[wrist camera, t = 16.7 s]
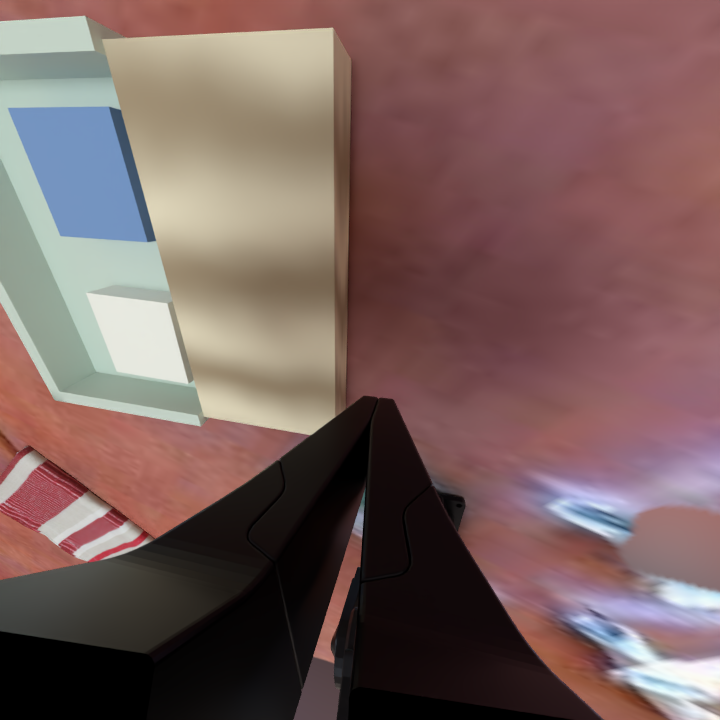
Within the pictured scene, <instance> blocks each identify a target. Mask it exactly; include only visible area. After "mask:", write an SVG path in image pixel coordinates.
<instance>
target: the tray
mask: <svg viewBox="0 0 720 720" xmlns="http://www.w3.org/2000/svg"><path fill="white" fill-rule="evenodd" d="M118 38H126V37H124V36H122V35H120V34H118V33H116V32H114V31H113V30H111V29H109V28H107V27H105V26H103V25H101V24H99V23H97V22H96V21H94V20H92V19H90V18H88V17H86V16H77V17H61V18H46V19H31V20H15V21H0V302H1V304H2V306H3V308H4V309H5V311H6V313H7V315H8V317H9V319H10V320H11V322H12V324H13V326H14V328H15V329H16V331H17V333H18V335H19V337H20V338H21V340H22V342H23V344H24V346H25V347H26V349H27V351H28V353H29V355H30V356H31V358H32V360H33V362H34V364H35V365H36V367H37V369H38V371H39V373H40V375H41V376H42V378H43V380H44V382H45V384H46V385H47V387H48V389H49V391H50V393H51V394H52V396H53V398H54V400H57V401H62V402H68V403H74V404H79V405H85V406H90V407H96V408H101V409H107V410H113V411H118V412H124V413H129V414H135V415H141V416H146V417H152V418H157V419H163V420H168V421H174V422H180V423H185V424H191V425H196V426H202V425H203V424H204V423H205V422H206V421H207V420H208V419H209V417H204V415H203V412H202V408H201V404H200V401H199V397H198V393H197V389H196V386H195V382H194V380H193V381H192V382H191V383H189V384H185V383H180V382H174V381H168V380H162V379H156V378H151V377H145V376H139V375H133V374H127V373H122V372H117V371H116V368H115V366H114V363H113V361H112V358H111V356H110V353H109V351H108V348H107V345H106V343H105V340H104V338H103V335H102V333H101V330H100V328H99V325H98V322H97V320H96V317H95V315H94V312H93V310H92V307H91V305H90V302H89V299H88V297H87V294H86V293H87V292H90V291H94V290H98V289H101V288H105V287H109V286H112V285H117V286H125V287H133V288H141V289H149V290H157V291H166V292H170V290H169V286H168V282H167V279H166V275H165V271H164V267H163V264H162V260H161V256H160V253H159V249H158V245H157V242H156V241H153V242H136V241H122V240H107V239H93V238H79V237H64V236H60V234H59V231H58V229H57V227H56V224H55V222H54V219H53V217H52V214H51V212H50V210H49V207H48V205H47V202H46V200H45V198H44V195H43V193H42V190H41V188H40V185H39V183H38V181H37V178H36V176H35V173H34V171H33V169H32V166H31V164H30V161H29V159H28V156H27V154H26V152H25V149H24V147H23V144H22V142H21V139H20V137H19V135H18V132H17V130H16V127H15V125H14V123H13V120H12V118H11V115H10V113H9V110H8V108H34V107H108V106H109V107H112V108H116V109H119V110H121V108H120V105H119V101H118V97H117V94H116V90H115V86H114V83H113V79H112V75H111V71H110V68H109V64H108V60H107V57H106V53H105V49H104V46H103V42H102V39H118Z"/></svg>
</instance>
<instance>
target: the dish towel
mask: <svg viewBox="0 0 720 720" xmlns="http://www.w3.org/2000/svg"><path fill="white" fill-rule="evenodd" d="M0 511H1V512H2V513H4V514H5V515H7V516H9V517H11V518H12V519H14V520H16V521H17V522H19V523H20V524H22V525H24V526H25V527H28V528H30V529H32V530H34V531H36V532H38V533H42V534H44V535H45V536H47V537H48V538H49V539H50V540H51V541H52V542H53V543H55V544H56V545H58V546H59V547H60V548H61V549H63V550H64V551H66V552H67V553H69V554H70V555H72V556H74V557H76V558H79V559H82V560H85V561H87V562H88V563H89V562H94V561H99V560H103V559H108V558H112V557H115V556H118V555H121V554H124V553H127V552H129V551H132V550H134V549H137V548H139V547H141V546H143V545H145V544H147V543H149V542H151V541H153V540H154V538H153V537H151V536H150V535H149V534H148V533H146V532H145V531H144V530H142V529H141V528H140V527H138V526H137V525H136V524H134V523H133V522H132V521H130V520H129V519H128V518H126V517H125V516H124V515H122V514H121V513H120V512H118V511H117V510H116V509H114V508H113V507H111V506H110V505H108V504H107V503H105V502H104V501H102V500H101V499H100V498H98V497H97V496H95V495H94V494H93V493H92V492H91V491H89V490H88V489H87V488H86V487H85V486H83V485H82V484H81V483H79V482H78V481H77V480H76V479H74V478H73V477H71V476H70V475H69V474H67V473H66V472H64V471H63V470H62V469H61V468H59V467H58V466H57V465H55V464H54V463H52V462H51V461H49V460H48V459H46V458H44V457H43V456H42V455H40V454H39V453H38V452H37V451H36V450H34V449H33V448H32V447H30V446H26V447H25V448H24V449H23V450H22V451H19V452H18V453H17V454H16V456H15V457H14V458H13V459H12V461H11V462H10V464H9V465H8V467H7V468H6V469H5V471H4V472H3V473H2V475H1V476H0Z"/></svg>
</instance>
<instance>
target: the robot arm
mask: <svg viewBox="0 0 720 720" xmlns="http://www.w3.org/2000/svg"><path fill="white" fill-rule="evenodd" d="M279 460H280V461H279ZM279 460H277V461H275V462H274V463H273V464H271V465H270V466H269V467H267V468H266V469H265V470H263V471H262V472H260V473H259V474H258V475H256V476H255V477H253V478H252V479H250V480H249V481H248V482H246V483H245V484H243V485H242V486H240V487H239V488H237V489H235V490H234V491H232V492H231V493H229V494H228V495H226V496H225V497H223V498H221V499H220V500H218V501H217V502H215V503H213V504H212V505H210V506H208V507H207V508H205V509H204V510H202V511H200V512H199V513H197V514H195V515H194V516H192V517H191V518H189V519H187V520H186V521H184V522H182V523H181V524H179V525H178V526H176V527H174V528H173V529H171V530H169V531H168V532H166V533H165V534H163V535H161V536H160V537H158V538H156V539H154V540H153V541H151V542H149V543H147V544H145V545H143V546H141V547H139V548H137V549H134V550H132V551H129V552H127V553H124V554H121V555H118V556H115V557H112V558H108V559H103V560H99V561H94V562H89V563H84V564H79V565H74V566H69V567H63V568H58V569H53V570H48V571H43V572H38V573H33V574H28V575H23V576H18V577H13V578H8V579H3V580H0V720H293V719H294V716H295V712H296V709H297V706H298V703H299V700H300V696H301V693H302V692H301V689H302V688H303V686H304V683H305V680H306V677H307V673H308V670H309V667H310V664H311V660H312V658H313V654H314V651H315V648H316V645H317V641H318V638H319V635H320V632H321V629H322V625H323V622H324V619H325V616H326V612H327V609H328V606H329V603H330V600H331V596H332V593H333V590H334V587H335V584H336V580H337V577H338V574H339V571H340V567H341V564H342V561H343V558H344V555H345V551H346V548H347V545H348V542H349V539H350V535H351V532H352V529H353V526H354V522H355V519H356V516H357V513H358V510H359V506H360V503H361V500H362V497H363V494H364V490H365V487H366V491H365V506H364V521H363V536H362V552H361V567H358V568H357V571H356V574H355V577H354V578H353V579H352V582H351V586H350V589H349V592H348V595H347V599H346V602H345V605H344V608H343V612H342V615H341V618H340V621H339V625H338V627H337V629H336V631H335V633H334V636H333V638H332V641H331V651H332V653H333V655H334V657H335V663H334V679H335V686H336V688H337V689H340V695H339V705H338V712H337V720H604V719H602V718H601V717H600V716H599V715H598V714H597V713H596V712H595V711H594V710H593V709H592V708H591V707H590V706H588V705H587V704H586V703H585V702H584V701H583V700H582V699H581V698H580V697H579V696H578V695H577V694H575V693H574V692H573V691H572V690H571V689H570V688H569V687H568V686H567V685H566V684H565V683H564V682H563V681H561V680H560V679H559V678H558V677H557V676H556V675H555V674H554V673H553V672H552V671H551V670H550V669H549V668H548V667H547V665H546V664H545V663H544V662H543V661H542V660H541V659H540V658H539V656H538V655H537V654H536V653H535V651H534V650H533V649H532V648H531V647H530V645H529V644H528V643H527V641H526V640H525V639H524V637H523V636H522V634H521V633H520V632H519V630H518V629H517V627H516V625H515V624H514V622H513V621H512V619H511V618H510V616H509V615H508V613H507V611H506V610H505V608H504V607H503V605H502V603H501V602H500V600H499V599H498V597H497V595H496V594H495V592H494V591H493V589H492V587H491V586H490V584H489V583H488V581H487V579H486V578H485V576H484V575H483V573H482V571H481V570H480V568H479V567H478V565H477V563H476V562H475V560H474V558H473V557H472V555H471V554H470V552H469V550H468V549H467V547H466V546H465V544H464V542H463V541H462V539H461V537H460V535H459V534H458V528H459V525H460V522H461V519H462V516H463V513H464V509H465V501H464V499H462V498H460V497H455V496H450V495H444V494H439V493H437V491H436V489H435V487H434V486H433V483H432V481H431V479H430V477H429V475H428V472H427V470H426V468H425V466H424V464H423V462H422V459H421V457H420V455H419V453H418V451H417V449H416V446H415V444H414V442H413V440H412V438H411V436H410V433H409V431H408V429H407V427H406V425H405V423H404V420H403V418H402V416H401V414H400V412H399V410H398V408H397V405H396V403H395V401H394V400H393V399H389V398H379V399H378V398H377V397H372V396H363V397H361V398H360V399H359V400H357V401H356V402H355V403H353V404H352V405H351V406H349V407H348V408H346V409H345V410H344V411H342V412H341V413H340V414H338V415H337V416H336V417H334V418H333V419H332V420H330V421H329V422H328V423H326V424H325V425H324V426H322V427H321V428H320V429H318V430H317V431H316V432H314V433H313V434H312V435H310V436H309V437H308V438H306V439H305V440H304V441H302V442H301V443H300V444H298V445H297V446H296V447H294V448H293V449H292V450H290V451H289V452H288V453H286V454H285V455H284V456H282V457H281V458H280V459H279Z"/></svg>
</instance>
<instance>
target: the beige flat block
mask: <svg viewBox="0 0 720 720" xmlns="http://www.w3.org/2000/svg"><path fill="white" fill-rule="evenodd" d="M102 42H103V46H104V49H105V53H106V57H107V60H108V64H109V68H110V71H111V75H112V79H113V83H114V86H115V90H116V94H117V97H118V101H119V105H120V108H121V112H122V116H123V120H124V123H125V127H126V131H127V134H128V138H129V142H130V145H131V149H132V153H133V157H134V160H135V164H136V168H137V171H138V175H139V179H140V182H141V186H142V190H143V193H144V197H145V201H146V205H147V208H148V212H149V216H150V219H151V223H152V227H153V230H154V234H155V238H156V242H157V245H158V249H159V253H160V256H161V260H162V264H163V267H164V271H165V275H166V279H167V282H168V286H169V290H170V293H171V297H172V301H173V304H174V308H175V312H176V316H177V319H178V323H179V327H180V330H181V334H182V338H183V341H184V345H185V349H186V352H187V356H188V360H189V364H190V367H191V371H192V375H193V378H194V382H195V386H196V389H197V393H198V397H199V401H200V404H201V408H202V412H203V415H204V417H209V418H215V419H221V420H226V421H232V422H238V423H244V424H249V425H255V426H261V427H267V428H273V429H278V430H284V431H290V432H296V433H301V434H307V435H312V434H313V433H314V432H316V431H317V430H318V429H320V428H321V427H322V426H324V425H325V424H326V423H328V422H329V421H330V420H332V419H333V418H334V417H336V416H337V415H338V414H340V413H341V412H342V411H344V410H345V409H346V368H347V307H348V246H349V185H350V124H351V62H352V60H351V59H350V57H349V55H348V53H347V51H346V50H345V48H344V46H343V44H342V43H341V41H340V39H339V37H338V35H337V34H336V32H335V30H334V28H319V29H299V30H279V31H259V32H239V33H219V34H199V35H178V36H158V37H138V38H118V39H102Z"/></svg>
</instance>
